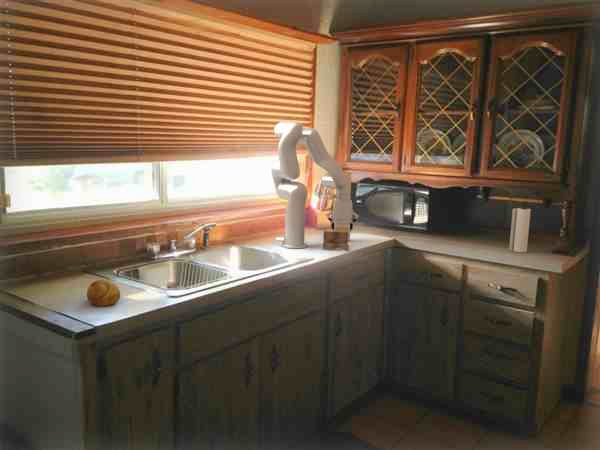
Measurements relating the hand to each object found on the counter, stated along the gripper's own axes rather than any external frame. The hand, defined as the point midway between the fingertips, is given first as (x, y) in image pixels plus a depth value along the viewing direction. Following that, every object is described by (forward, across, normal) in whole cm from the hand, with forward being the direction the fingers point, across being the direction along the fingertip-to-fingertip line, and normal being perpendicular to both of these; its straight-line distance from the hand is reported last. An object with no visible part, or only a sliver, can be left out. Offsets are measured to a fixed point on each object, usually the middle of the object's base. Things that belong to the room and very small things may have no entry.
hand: (341, 230), depth 280 cm
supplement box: (+5, 0, 0) cm, 5 cm away
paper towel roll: (+6, +87, -11) cm, 88 cm away
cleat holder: (+5, -3, -19) cm, 20 cm away
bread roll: (+5, -77, -116) cm, 139 cm away
